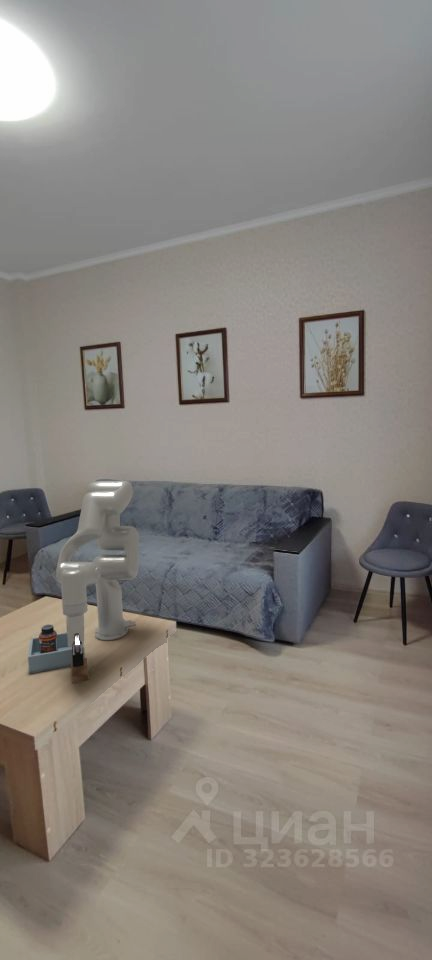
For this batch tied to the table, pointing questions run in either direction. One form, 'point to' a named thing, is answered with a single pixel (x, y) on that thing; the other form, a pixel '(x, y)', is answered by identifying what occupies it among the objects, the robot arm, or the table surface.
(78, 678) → the walnut cube
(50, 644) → the supplement bottle
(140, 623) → the table surface
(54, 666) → the tote
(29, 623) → the table surface
